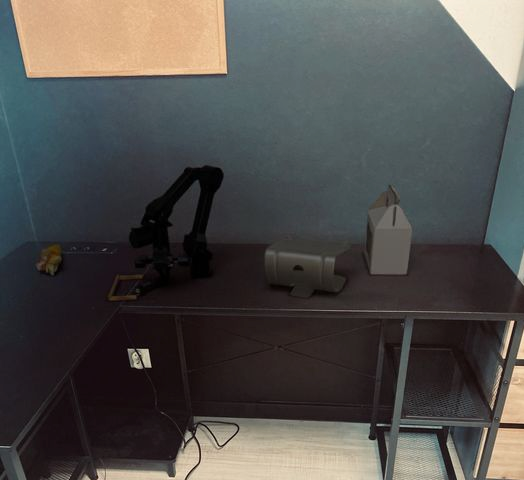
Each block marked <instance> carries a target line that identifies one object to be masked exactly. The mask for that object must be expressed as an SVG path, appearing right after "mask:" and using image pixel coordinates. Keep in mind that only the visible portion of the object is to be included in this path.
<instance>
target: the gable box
mask: <svg viewBox="0 0 524 480" xmlns="http://www.w3.org/2000/svg"><path fill="white" fill-rule="evenodd" d="M394 187H395V186H393V187H392V185H391V184H388V185H387V190H386V191H384V192H382V193H381V194H380V196H379V197H378V198H377V199H376V200H375V202H374V203H373V204H372V205H371V206H370V208H369V209H368V210H367V215H366V216H367V217H366V226H365V227H366V228H365V229H366V230H365V241H364V253H363V254H364V257H365V261H366V264H367V268H368V271H369V275H380V276H381V275H383V276H384V275H388V276H389V275H390V276H391V275H395V276H396V275H398V276H399V275H404V276H406V275H407V274H408V268H409V267H408V266H409V259H410V252H411V243H412V235H413V227H412V225H411V223H410V221H409V220H408V218H407V216H406V214H405V212H404V210H403V209H402V207H401V206H400V204H399V203H400V201H401V197H400V196H399V194H398V192H397V190H396V189H395V188H394Z"/></svg>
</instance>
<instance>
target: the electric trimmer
mask: <svg viewBox="0 0 524 480" xmlns="http://www.w3.org/2000/svg"><path fill="white" fill-rule="evenodd" d="M170 279H171V274H170V273H169V275H168V280H167V282H168V281H170ZM162 285H164V282H163V280H162V278H161V276H160V275H159V276H158V277H155V278H152V279H151V280H148V281H146V282H144V283H139V284H138V285H137V286H135V288H134V290H133V293H134V295H136V296H143V294H144V293H145V292H147V291H149V290H152V289H154V288H155V287H156V288H157V287H160V286H162Z"/></svg>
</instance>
